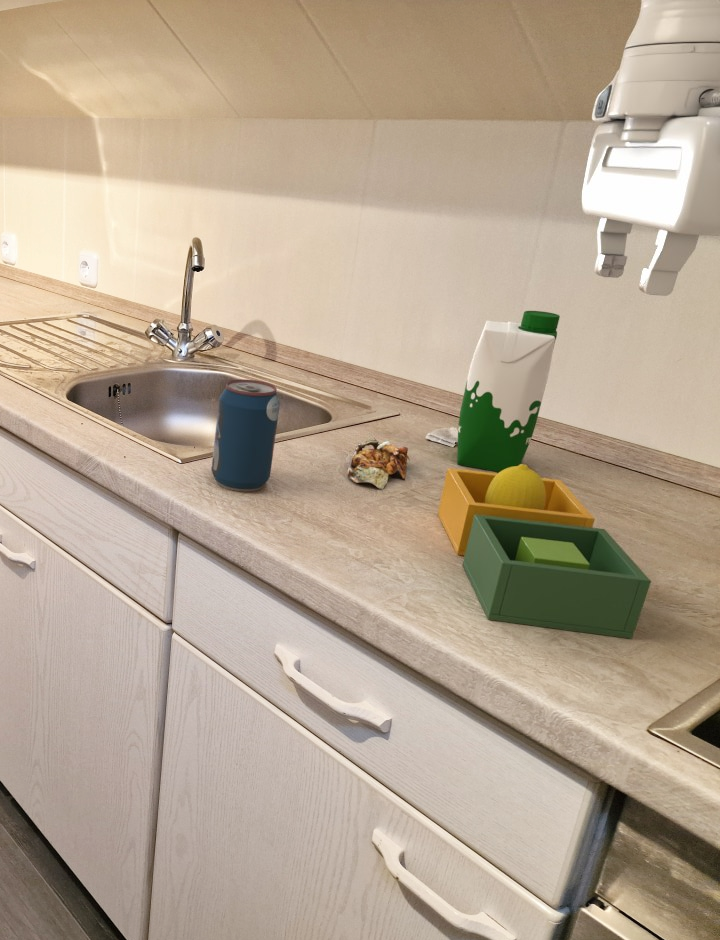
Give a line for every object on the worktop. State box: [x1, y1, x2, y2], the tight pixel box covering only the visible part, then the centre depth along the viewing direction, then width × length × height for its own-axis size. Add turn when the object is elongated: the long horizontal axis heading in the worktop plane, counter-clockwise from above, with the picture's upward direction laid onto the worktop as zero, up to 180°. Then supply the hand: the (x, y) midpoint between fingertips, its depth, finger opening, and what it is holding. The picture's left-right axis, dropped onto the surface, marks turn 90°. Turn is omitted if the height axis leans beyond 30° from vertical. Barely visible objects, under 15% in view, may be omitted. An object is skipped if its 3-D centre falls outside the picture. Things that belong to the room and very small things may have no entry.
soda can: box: [210, 379, 281, 493], centre depth 100 cm, size 7×7×12 cm
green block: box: [515, 537, 590, 570], centre depth 77 cm, size 4×4×4 cm
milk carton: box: [456, 310, 561, 473], centre depth 109 cm, size 9×9×20 cm
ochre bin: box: [437, 467, 596, 556], centre depth 89 cm, size 12×11×6 cm
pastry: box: [346, 437, 411, 490], centre depth 107 cm, size 7×12×4 cm, turn 156°
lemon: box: [485, 463, 546, 510], centre depth 88 cm, size 6×6×8 cm
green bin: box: [461, 514, 652, 640], centre depth 77 cm, size 12×11×6 cm
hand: (628, 284), depth 68 cm, fingers open, 8 cm apart
